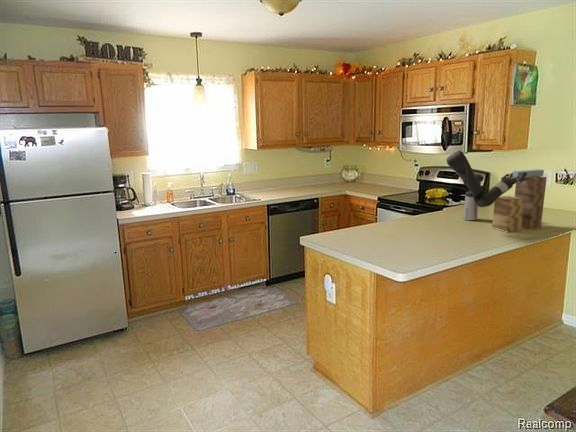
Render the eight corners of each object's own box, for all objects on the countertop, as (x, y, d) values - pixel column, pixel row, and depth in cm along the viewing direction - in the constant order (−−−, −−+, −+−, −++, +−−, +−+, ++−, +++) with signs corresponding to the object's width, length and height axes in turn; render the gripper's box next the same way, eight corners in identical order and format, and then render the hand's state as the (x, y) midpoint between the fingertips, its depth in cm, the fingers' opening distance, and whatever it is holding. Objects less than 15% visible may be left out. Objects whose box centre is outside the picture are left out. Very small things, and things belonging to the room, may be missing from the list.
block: (506, 232, 270) (509, 200, 265) (492, 227, 281) (494, 197, 276) (520, 230, 274) (524, 198, 269) (506, 226, 285) (509, 195, 280)
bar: (517, 178, 269) (518, 172, 268) (512, 177, 272) (512, 171, 272) (543, 175, 276) (543, 169, 275) (537, 175, 279) (538, 169, 278)
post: (529, 229, 275) (534, 178, 267) (511, 224, 288) (516, 175, 280) (540, 228, 278) (546, 177, 270) (522, 223, 291) (528, 174, 283)
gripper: (510, 183, 261) (528, 168, 264) (492, 180, 274) (510, 166, 277) (513, 193, 264) (532, 178, 266) (495, 189, 277) (513, 176, 279)
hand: (521, 172), depth 271 cm, fingers open, 7 cm apart
